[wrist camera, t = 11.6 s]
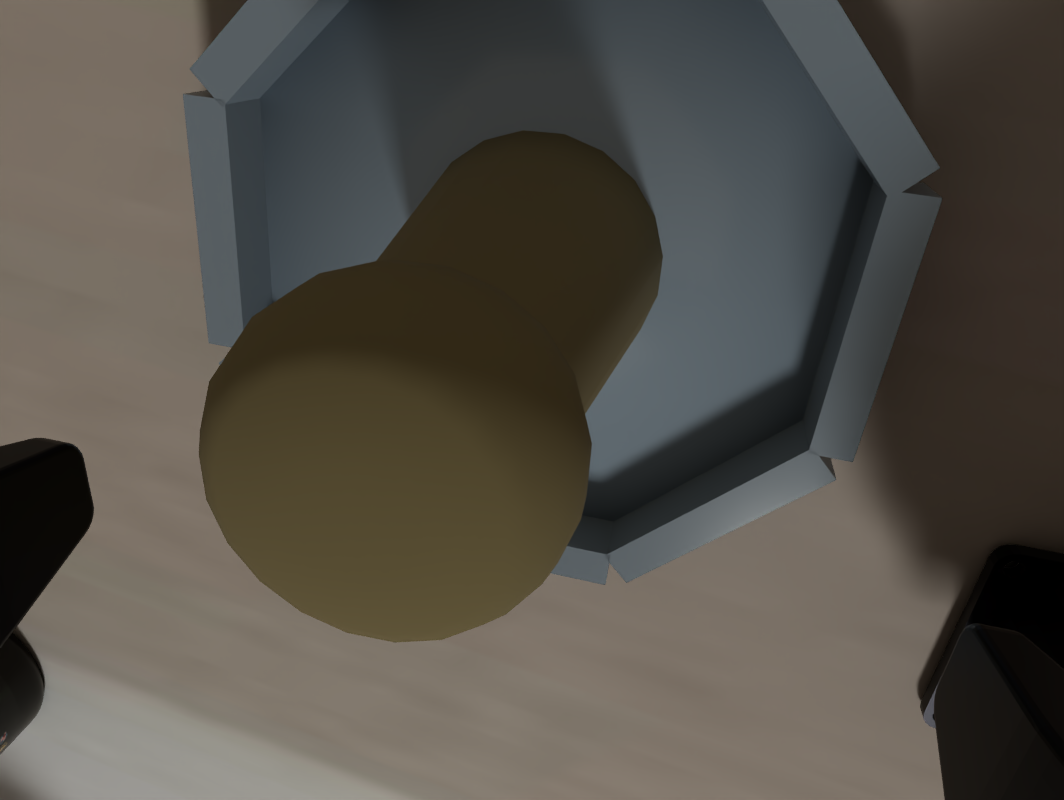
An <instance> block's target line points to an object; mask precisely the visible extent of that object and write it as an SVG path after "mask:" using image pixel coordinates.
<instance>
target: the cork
mask: <svg viewBox="0 0 1064 800" xmlns="http://www.w3.org/2000/svg"><path fill="white" fill-rule="evenodd" d="M662 260H663V254H662V249H661V244H660V238H659V233H658V228H657V223H656V218H655V215H654V213H653V212H652V210H651V208H650V206H649V205H648V203H647V201H646V199H645V197H644V196H643V194H642V192H641V190H640V188H639V187H638V185H637V183H636V181H635V180H634V179H633V178H632V177H631V176H630V175H629V174H628V173H627V172H625V171H624V170H623V169H622V168H621V167H620V166H619V165H618V164H617V163H616V162H614V161H613V160H612V159H611V158H610V157H609V156H608V155H607V154H606V153H605V152H604V151H602V150H599V149H597V148H595V147H593V146H590V145H588V144H586V143H584V142H581V141H579V140H577V139H575V138H572V137H570V136H568V135H566V134H559V133H548V132H536V131H525V130H522V131H518V132H514V133H510V134H507V135H503V136H499V137H495V138H491V139H487V140H484V141H482V142H481V143H479V144H478V145H476V146H475V147H473V148H472V149H470V150H469V151H467V152H466V153H464V154H463V155H461V156H460V157H458V158H457V159H455V160H454V161H452V162H451V163H450V165H449V166H448V167H447V169H446V170H445V171H444V173H443V174H442V175H441V176H440V178H439V179H438V180H437V182H436V183H435V184H434V186H433V187H432V188H431V190H430V191H429V192H428V194H427V195H426V196H425V197H424V199H423V200H422V201H421V203H420V204H419V205H418V207H417V208H416V209H415V211H414V212H413V213H412V215H411V216H410V217H409V218H408V220H407V221H406V222H405V224H404V225H403V226H402V228H401V229H400V230H399V232H398V233H397V234H396V236H395V237H394V238H393V239H392V241H391V242H390V243H389V245H388V246H387V247H386V249H385V250H384V251H383V253H382V254H381V255H380V256H379V258H378V259H377V260H376V261H374V262H370V263H365V264H360V265H356V266H351V267H346V268H342V269H337V270H332V271H328V272H323V273H319V274H317V275H316V276H314V277H312V278H311V279H309V280H308V281H306V282H304V283H303V284H301V285H300V286H298V287H296V288H295V289H293V290H292V291H290V292H289V293H287V294H286V295H284V296H283V297H281V298H280V299H278V300H277V301H275V302H274V303H272V304H271V305H269V306H268V307H266V308H265V309H263V310H262V311H260V312H259V313H257V314H256V315H254V316H253V317H252V318H251V319H250V321H249V322H248V324H247V325H246V327H245V328H244V330H243V331H242V333H241V334H240V336H239V337H238V339H237V340H236V342H235V343H234V345H233V346H232V348H231V349H230V351H229V352H228V354H227V355H226V357H225V358H224V360H223V362H222V363H221V365H220V366H219V368H218V369H217V371H216V372H215V374H214V375H213V377H212V378H211V380H210V381H209V386H208V391H207V396H206V402H205V407H204V412H203V417H202V423H201V428H200V442H199V458H200V464H201V470H202V476H203V482H204V488H205V494H206V500H207V502H208V504H209V506H210V508H211V510H212V512H213V514H214V516H215V518H216V520H217V522H218V524H219V526H220V528H221V530H222V533H223V535H224V537H225V539H226V541H227V543H228V544H229V545H230V546H231V548H232V549H233V550H234V551H235V552H236V554H237V555H238V556H239V557H240V558H241V559H242V561H243V562H244V563H245V564H246V565H247V566H248V568H249V569H250V570H251V571H252V572H253V573H254V575H255V576H256V577H257V578H258V579H259V581H260V582H262V583H263V584H264V585H266V586H267V587H268V588H270V589H271V590H272V591H274V592H275V593H276V594H278V595H279V596H280V597H282V598H283V599H284V600H286V601H287V602H288V603H290V604H291V605H292V606H294V607H295V608H297V609H298V610H299V611H301V612H302V613H305V614H307V615H309V616H311V617H313V618H316V619H318V620H320V621H322V622H325V623H327V624H329V625H331V626H333V627H336V628H338V629H340V630H342V631H344V632H347V633H351V634H356V635H361V636H366V637H371V638H376V639H381V640H386V641H391V642H410V641H428V640H442V639H445V638H448V637H451V636H453V635H456V634H459V633H461V632H464V631H467V630H470V629H472V628H475V627H478V626H481V625H483V624H485V623H488V622H490V621H492V620H494V619H496V618H499V617H501V616H503V615H505V614H507V613H508V612H509V611H510V610H512V609H513V608H514V607H515V606H516V605H518V604H519V603H520V602H521V601H522V600H524V599H525V598H526V597H527V596H528V595H529V594H531V593H532V592H533V591H534V590H535V589H537V588H538V587H539V586H540V585H541V584H542V583H543V582H544V581H545V579H546V578H547V577H548V575H549V574H550V573H551V571H552V570H553V569H554V568H555V566H556V565H557V564H558V562H559V560H560V558H561V556H562V554H563V553H564V551H565V549H566V547H567V545H568V543H569V541H570V539H571V537H572V536H573V534H574V532H575V530H576V528H577V526H578V524H579V522H580V520H581V517H582V513H583V509H584V504H585V500H586V496H587V487H588V478H589V468H590V459H591V449H592V442H591V437H590V433H589V428H588V424H587V420H586V416H585V413H586V412H587V410H588V409H589V407H590V406H591V404H592V403H593V401H594V400H595V398H596V397H597V395H598V394H599V392H600V391H601V389H602V388H603V386H604V384H605V383H606V381H607V380H608V378H609V377H610V375H611V374H612V372H613V371H614V369H615V368H616V366H617V365H618V363H619V362H620V360H621V359H622V357H623V355H624V354H625V352H626V351H627V349H628V348H629V346H630V345H631V343H632V342H633V340H634V339H635V337H636V336H637V334H638V333H639V331H640V330H641V328H642V326H643V324H644V322H645V320H646V318H647V316H648V314H649V312H650V310H651V308H652V306H653V304H654V302H655V300H656V298H657V296H658V290H659V282H660V275H661V268H662Z"/></svg>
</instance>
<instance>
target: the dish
mask: <svg viewBox="0 0 1064 800" xmlns="http://www.w3.org/2000/svg"><path fill="white" fill-rule="evenodd" d="M190 70H191V71H192V73H193V74H194V75H195V76H196V77H197V78H198V80H199V81H200V82H201V83H202V84H203V85H204V87H205V88H206V89H207V90H206V91H199V92H193V93H186V94H183V100H184V109H185V119H186V128H187V138H188V148H189V157H190V167H191V176H192V186H193V196H194V205H195V215H196V225H197V234H198V244H199V253H200V263H201V273H202V282H203V292H204V302H205V311H206V321H207V330H208V340H209V343H211V344H216V345H222V346H227V347H232V346H233V345H234V343H235V342H236V340H237V339H238V337H239V336H240V334H241V333H242V331H243V330H244V328H245V327H246V325H247V324H248V322H249V321H250V319H251V318H252V317H253V316H254V315H256V314H257V313H259V312H260V311H262V310H263V309H265V308H266V307H268V306H269V305H271V304H272V303H274V302H275V301H277V300H278V299H280V298H281V297H283V296H284V295H286V294H287V293H289V292H290V291H292V290H293V289H295V288H296V287H298V286H300V285H301V284H303V283H304V282H306V281H308V280H309V279H311V278H312V277H314V276H316V275H317V274H319V273H323V272H328V271H332V270H337V269H342V268H346V267H351V266H356V265H360V264H365V263H370V262H374V261H376V260H377V259H378V258H379V256H380V255H381V254H382V253H383V251H384V250H385V249H386V247H387V246H388V245H389V243H390V242H391V241H392V239H393V238H394V237H395V236H396V234H397V233H398V232H399V230H400V229H401V228H402V226H403V225H404V224H405V222H406V221H407V220H408V218H409V217H410V216H411V215H412V213H413V212H414V211H415V209H416V208H417V207H418V205H419V204H420V203H421V201H422V200H423V199H424V197H425V196H426V195H427V194H428V192H429V191H430V190H431V188H432V187H433V186H434V184H435V183H436V182H437V180H438V179H439V178H440V176H441V175H442V174H443V173H444V171H445V170H446V169H447V167H448V166H449V165H450V163H451V162H452V161H454V160H455V159H457V158H458V157H460V156H461V155H463V154H464V153H466V152H467V151H469V150H470V149H472V148H473V147H475V146H476V145H478V144H479V143H481V142H482V141H484V140H487V139H491V138H495V137H499V136H503V135H507V134H510V133H514V132H518V131H522V130H525V131H536V132H548V133H559V134H566V135H568V136H570V137H572V138H575V139H577V140H579V141H581V142H584V143H586V144H588V145H590V146H593V147H595V148H597V149H599V150H602V151H604V152H605V153H606V154H607V155H608V156H609V157H610V158H611V159H612V160H613V161H614V162H616V163H617V164H618V165H619V166H620V167H621V168H622V169H623V170H624V171H625V172H627V173H628V174H629V175H630V176H631V177H632V178H633V179H634V180H635V181H636V183H637V185H638V187H639V188H640V190H641V192H642V194H643V196H644V197H645V199H646V201H647V203H648V205H649V206H650V208H651V210H652V212H653V213H654V215H655V218H656V223H657V228H658V233H659V238H660V244H661V249H662V254H663V260H662V268H661V275H660V282H659V290H658V296H657V298H656V300H655V302H654V304H653V306H652V308H651V310H650V312H649V314H648V316H647V318H646V320H645V322H644V324H643V326H642V328H641V330H640V331H639V333H638V334H637V336H636V337H635V339H634V340H633V342H632V343H631V345H630V346H629V348H628V349H627V351H626V352H625V354H624V355H623V357H622V359H621V360H620V362H619V363H618V365H617V366H616V368H615V369H614V371H613V372H612V374H611V375H610V377H609V378H608V380H607V381H606V383H605V384H604V386H603V388H602V389H601V391H600V392H599V394H598V395H597V397H596V398H595V400H594V401H593V403H592V404H591V406H590V407H589V409H588V410H587V412H586V413H585V416H586V420H587V424H588V428H589V433H590V437H591V442H592V449H591V459H590V468H589V478H588V487H587V496H586V500H585V504H584V509H583V513H582V517H581V520H580V522H579V524H578V526H577V528H576V530H575V532H574V534H573V536H572V537H571V539H570V541H569V543H568V545H567V547H566V549H565V551H564V553H563V554H562V556H561V558H560V560H559V562H558V564H557V565H556V566H555V568H554V569H553V570H552V571H551V573H552V574H557V575H561V576H566V577H571V578H575V579H580V580H585V581H589V582H594V583H599V584H603V585H605V584H606V578H607V573H608V568H609V563H610V564H611V565H612V566H613V568H614V569H615V570H616V571H617V572H618V573H619V575H620V576H621V577H622V578H623V579H624V580H625V582H626V583H627V582H629V581H631V580H633V579H635V578H637V577H639V576H641V575H643V574H645V573H647V572H649V571H651V570H653V569H655V568H658V567H660V566H662V565H664V564H666V563H668V562H670V561H672V560H674V559H676V558H678V557H680V556H682V555H684V554H686V553H688V552H690V551H692V550H694V549H696V548H698V547H700V546H702V545H704V544H706V543H708V542H711V541H713V540H715V539H717V538H719V537H721V536H723V535H725V534H727V533H729V532H731V531H733V530H735V529H737V528H739V527H741V526H743V525H745V524H747V523H749V522H751V521H753V520H755V519H757V518H759V517H761V516H764V515H766V514H768V513H770V512H772V511H774V510H776V509H778V508H780V507H782V506H784V505H786V504H788V503H790V502H792V501H794V500H796V499H798V498H800V497H802V496H804V495H806V494H808V493H810V492H812V491H814V490H816V489H819V488H821V487H823V486H825V485H827V484H829V483H831V482H833V481H835V480H836V477H835V473H834V469H833V465H832V462H831V458H834V459H839V460H844V461H850V462H853V460H854V457H855V454H856V451H857V448H858V445H859V442H860V440H861V437H862V434H863V431H864V428H865V425H866V422H867V419H868V416H869V413H870V410H871V407H872V404H873V401H874V398H875V395H876V392H877V390H878V387H879V384H880V381H881V378H882V375H883V372H884V369H885V366H886V363H887V360H888V357H889V354H890V351H891V348H892V345H893V343H894V340H895V337H896V334H897V331H898V328H899V325H900V322H901V319H902V316H903V313H904V310H905V307H906V304H907V301H908V298H909V295H910V293H911V290H912V287H913V284H914V281H915V278H916V275H917V272H918V269H919V266H920V263H921V260H922V257H923V254H924V251H925V248H926V245H927V243H928V240H929V237H930V234H931V231H932V228H933V225H934V222H935V219H936V216H937V213H938V210H939V207H940V204H941V201H942V197H941V196H939V195H938V194H937V193H936V192H934V191H933V190H932V189H931V188H930V187H928V186H927V185H926V184H925V183H920V182H919V181H920V180H922V179H924V178H925V177H927V176H928V175H930V174H931V173H933V172H935V171H936V170H938V169H939V168H940V167H939V166H938V164H937V162H936V161H935V159H934V158H933V156H932V154H931V153H930V151H929V149H928V148H927V146H926V144H925V143H924V141H923V140H922V138H921V136H920V135H919V133H918V131H917V130H916V128H915V126H914V125H913V123H912V122H911V120H910V118H909V117H908V115H907V113H906V112H905V110H904V108H903V107H902V105H901V104H900V102H899V100H898V99H897V97H896V95H895V94H894V92H893V90H892V89H891V87H890V86H889V84H888V82H887V81H886V79H885V77H884V76H883V74H882V72H881V71H880V69H879V68H878V66H877V64H876V63H875V61H874V59H873V58H872V56H871V54H870V53H869V51H868V50H867V48H866V46H865V45H864V43H863V41H862V40H861V38H860V36H859V35H858V33H857V32H856V30H855V28H854V27H853V25H852V23H851V22H850V20H849V18H848V17H847V15H846V14H845V12H844V10H843V9H842V7H841V5H840V4H839V2H838V0H247V1H246V3H245V4H244V5H243V6H242V7H241V9H240V10H239V11H238V12H237V13H236V14H235V16H234V17H233V18H232V19H231V20H230V22H229V23H228V24H227V25H226V26H225V28H224V29H223V30H222V31H221V32H220V33H219V35H218V36H217V37H216V38H215V39H214V41H213V42H212V43H211V44H210V45H209V47H208V48H207V49H206V50H205V51H204V52H203V54H202V55H201V56H200V57H199V58H198V60H197V61H196V62H195V63H194V64H193V66H192V67H191V68H190ZM223 360H224V359H223ZM223 360H222V361H221V362H220V363H219V364H220V365H221V363H222V362H223Z"/></svg>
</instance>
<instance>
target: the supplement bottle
mask: <svg viewBox="0 0 1064 800" xmlns="http://www.w3.org/2000/svg"><path fill="white" fill-rule="evenodd" d="M43 696H44V686H43V679H42V676H41V673H40V670H39V668H38V666H37V664H36V662H35V660H34V658H33V657H32V655H31V654H30V653H29V651H28V650H27V649H26V647H25V646H24V645H23V644H22V643H21V642H20V641H19V640H18V639H17V637H15V636H14V635H13V634H12V633H11V635H10V636H9V637H8V638H7V640H6V641H5V642H4V644H3V645H2V646H1V647H0V754H1V753H2V752H3V751H4V750H5V749H6V748H7V747H8V746H9V745H10V744H11V743H12V742H13V741H14V740H15V739H16V737H17V736H18V735H19V734H20V733H21V732H22V731H23V730H24V729H25V728H26V727H27V726H28V725H29V724H30V722H31V721H32V720H33V719H34V718H35V716H36V715H37V713H38V712H39V710H40V708H41V705H42V701H43Z"/></svg>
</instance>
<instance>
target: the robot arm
mask: <svg viewBox="0 0 1064 800" xmlns="http://www.w3.org/2000/svg"><path fill="white" fill-rule="evenodd" d="M93 513H94V506H93V500H92V496H91V491H90V486H89V482H88V477H87V472H86V468H85V463H84V458H83V455H82V453H81V452H80V450H79V449H78V448H77V447H76V446H74V445H73V444H70V443H66V442H61V441H56V440H51V439H46V438H33V439H28V440H24V441H20V442H16V443H12V444H8V445H4V446H0V647H1V646H2V645H3V644H4V642H5V641H6V640H7V638H8V637H9V636H10V635H11V633H12V632H13V631H14V629H15V628H16V627H17V625H18V624H19V623H20V621H21V620H22V619H23V617H24V616H25V615H26V613H27V612H28V611H29V609H30V608H31V607H32V605H33V604H34V602H35V601H36V600H37V598H38V597H39V596H40V594H41V593H42V592H43V590H44V589H45V588H46V586H47V585H48V584H49V582H50V581H51V579H52V578H53V577H54V575H55V574H56V573H57V571H58V570H59V569H60V567H61V566H62V565H63V563H64V562H65V561H66V559H67V558H68V556H69V555H70V554H71V552H72V551H73V550H74V548H75V547H76V546H77V544H78V543H79V542H80V540H81V539H82V538H83V536H84V535H85V533H86V532H87V530H88V529H89V527H90V525H91V522H92V519H93ZM1010 562H1019V563H1018V564H1017V565H1016V566H1014V567H1012V568H1005V565H1006V564H1008V563H1010ZM920 708H921V711H922V715H923V718H924V720H925V722H926V723H927V724H928V725H929V726H931V727H933V728H936V733H937V741H938V749H939V757H940V765H941V773H942V781H943V789H944V797H945V800H1064V554H1061V553H1056V552H1050V551H1045V550H1040V549H1035V548H1030V547H1025V546H1019V545H1004V546H1000V547H998V548H997V549H995V550H994V551H993V552H992V553H991V554H990V556H989V557H988V560H987V562H986V564H985V566H984V568H983V570H982V572H981V575H980V577H979V579H978V581H977V583H976V585H975V587H974V590H973V592H972V594H971V596H970V598H969V600H968V602H967V605H966V607H965V609H964V611H963V613H962V615H961V617H960V620H959V622H958V624H957V626H956V628H955V630H954V632H953V635H952V637H951V639H950V641H949V643H948V645H947V647H946V650H945V652H944V654H943V656H942V658H941V660H940V662H939V665H938V667H937V669H936V671H935V673H934V675H933V677H932V680H931V682H930V684H929V686H928V688H927V690H926V692H925V695H924V697H923V699H922V701H921V705H920Z"/></svg>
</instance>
